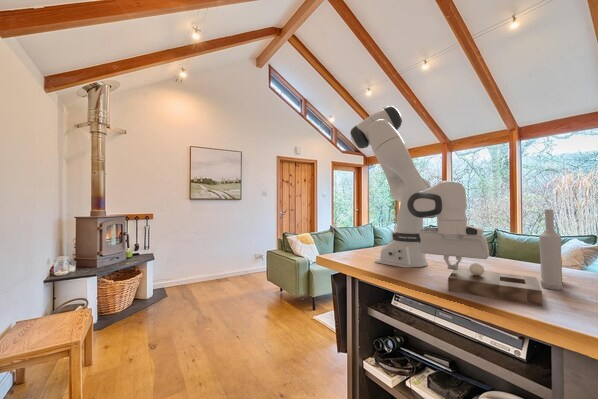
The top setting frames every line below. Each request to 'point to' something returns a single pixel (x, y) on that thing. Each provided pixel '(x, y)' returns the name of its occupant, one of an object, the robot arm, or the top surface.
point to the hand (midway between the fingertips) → (452, 269)
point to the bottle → (550, 254)
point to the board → (497, 286)
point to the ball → (476, 269)
